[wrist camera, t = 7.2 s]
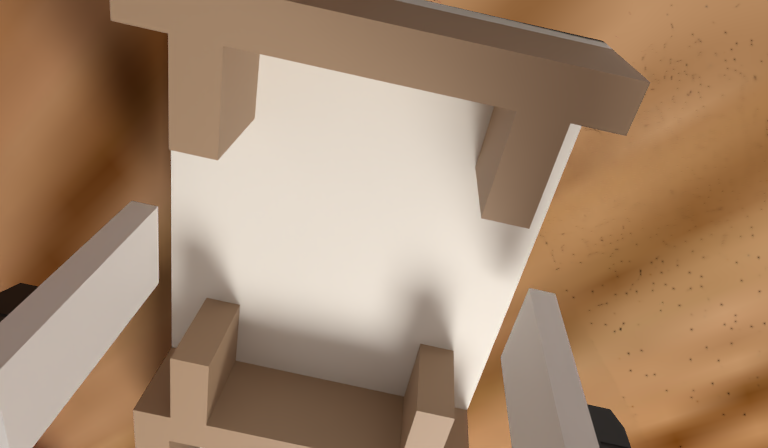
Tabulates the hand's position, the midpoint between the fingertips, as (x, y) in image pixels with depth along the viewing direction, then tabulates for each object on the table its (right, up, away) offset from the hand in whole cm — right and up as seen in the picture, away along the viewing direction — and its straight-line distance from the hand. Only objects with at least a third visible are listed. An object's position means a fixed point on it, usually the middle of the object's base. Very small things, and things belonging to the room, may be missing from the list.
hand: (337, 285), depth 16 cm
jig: (-2, -8, +8) cm, 11 cm away
